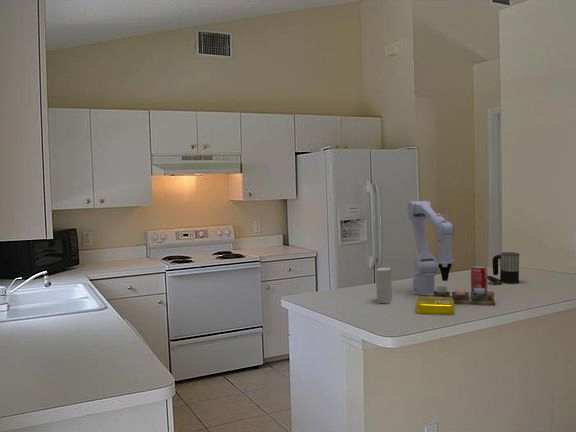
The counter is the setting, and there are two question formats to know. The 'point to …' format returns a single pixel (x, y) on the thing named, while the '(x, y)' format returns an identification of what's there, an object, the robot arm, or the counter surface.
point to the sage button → (441, 290)
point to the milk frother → (506, 268)
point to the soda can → (478, 277)
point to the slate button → (479, 291)
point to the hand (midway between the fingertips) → (444, 280)
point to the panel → (469, 298)
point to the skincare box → (384, 285)
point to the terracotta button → (460, 292)
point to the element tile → (435, 305)
